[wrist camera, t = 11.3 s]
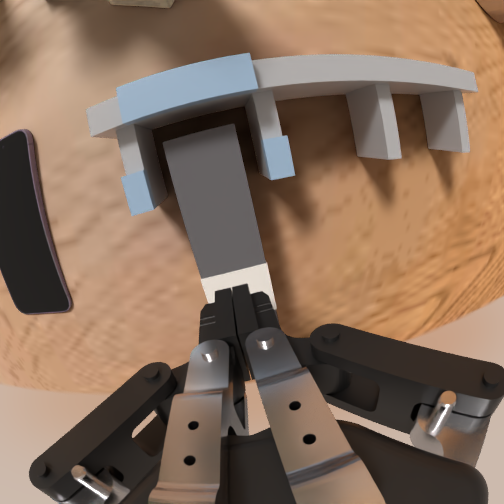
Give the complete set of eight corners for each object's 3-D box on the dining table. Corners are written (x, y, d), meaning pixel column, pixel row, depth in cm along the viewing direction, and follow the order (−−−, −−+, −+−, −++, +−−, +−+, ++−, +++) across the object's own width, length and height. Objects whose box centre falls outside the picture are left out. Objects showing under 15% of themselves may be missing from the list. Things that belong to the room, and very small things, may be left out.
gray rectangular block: (173, 144, 16) (161, 142, 12) (231, 129, 16) (235, 122, 12) (220, 308, 20) (222, 343, 17) (269, 296, 21) (281, 328, 17)
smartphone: (18, 314, 18) (-27, 156, 12) (24, 308, 19) (-19, 154, 14) (74, 311, 19) (27, 124, 13) (79, 304, 20) (35, 124, 14)
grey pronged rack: (431, 77, 16) (480, 69, 10) (443, 147, 18) (494, 154, 13) (118, 116, 15) (78, 104, 9) (139, 204, 17) (108, 228, 12)
